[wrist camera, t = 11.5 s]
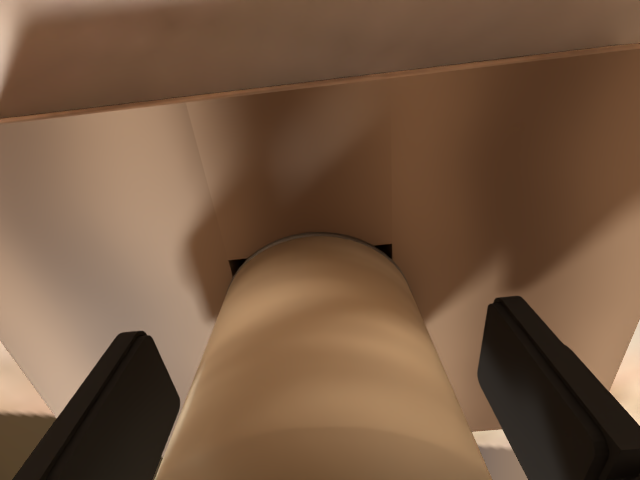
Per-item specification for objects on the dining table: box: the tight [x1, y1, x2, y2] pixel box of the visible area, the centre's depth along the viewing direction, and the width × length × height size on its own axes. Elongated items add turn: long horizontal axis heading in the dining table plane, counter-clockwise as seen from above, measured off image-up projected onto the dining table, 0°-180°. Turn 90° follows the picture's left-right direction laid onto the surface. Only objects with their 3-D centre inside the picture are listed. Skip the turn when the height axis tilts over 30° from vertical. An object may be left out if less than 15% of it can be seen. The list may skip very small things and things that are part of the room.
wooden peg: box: [155, 232, 492, 480], centre depth 10 cm, size 6×6×10 cm
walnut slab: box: [0, 43, 640, 457], centre depth 13 cm, size 22×14×4 cm, turn 96°
